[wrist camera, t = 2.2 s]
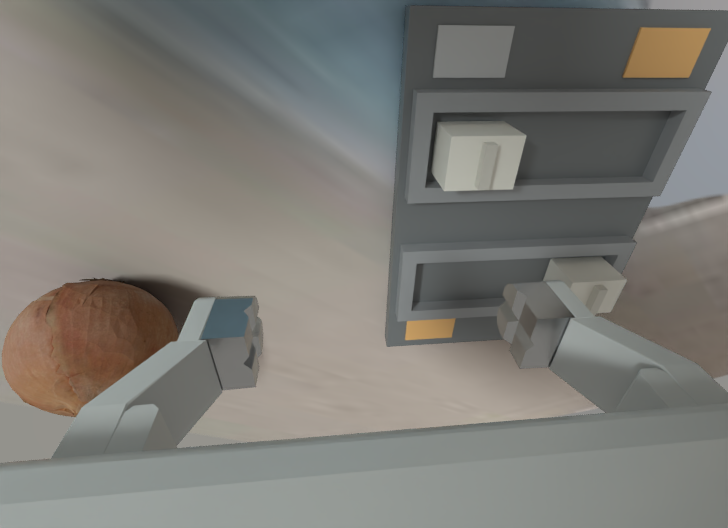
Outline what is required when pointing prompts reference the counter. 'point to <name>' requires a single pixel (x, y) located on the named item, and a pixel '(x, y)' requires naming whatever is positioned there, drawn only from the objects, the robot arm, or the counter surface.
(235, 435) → the counter surface
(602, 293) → the tab
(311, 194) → the counter surface
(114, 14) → the counter surface
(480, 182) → the tab
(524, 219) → the switch bank
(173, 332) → the onion
